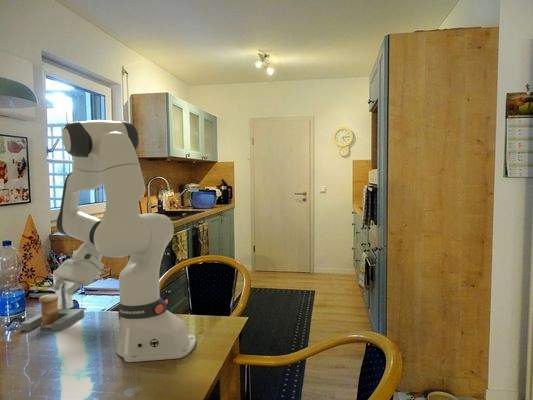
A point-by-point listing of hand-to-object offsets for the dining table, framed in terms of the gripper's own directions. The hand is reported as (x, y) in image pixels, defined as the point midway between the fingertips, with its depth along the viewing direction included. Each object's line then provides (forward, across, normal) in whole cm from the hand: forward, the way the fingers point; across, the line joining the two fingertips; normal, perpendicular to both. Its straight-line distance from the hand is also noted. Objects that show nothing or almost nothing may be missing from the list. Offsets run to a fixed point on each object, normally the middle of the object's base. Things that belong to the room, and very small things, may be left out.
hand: (61, 291), depth 138 cm
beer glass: (+2, -14, +13) cm, 20 cm away
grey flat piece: (+9, -1, +6) cm, 11 cm away
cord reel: (+10, 0, +4) cm, 11 cm away
